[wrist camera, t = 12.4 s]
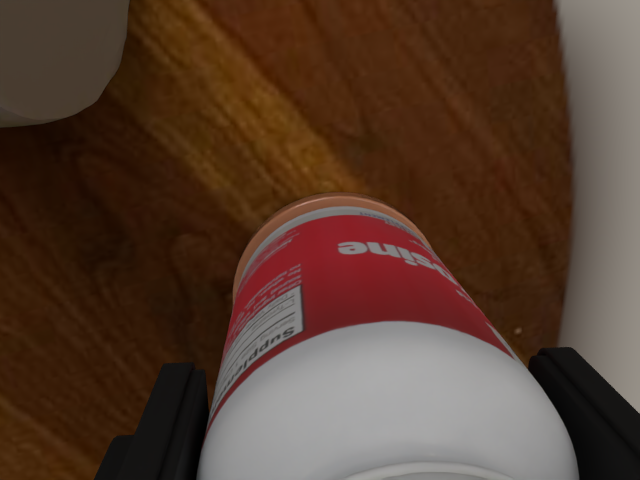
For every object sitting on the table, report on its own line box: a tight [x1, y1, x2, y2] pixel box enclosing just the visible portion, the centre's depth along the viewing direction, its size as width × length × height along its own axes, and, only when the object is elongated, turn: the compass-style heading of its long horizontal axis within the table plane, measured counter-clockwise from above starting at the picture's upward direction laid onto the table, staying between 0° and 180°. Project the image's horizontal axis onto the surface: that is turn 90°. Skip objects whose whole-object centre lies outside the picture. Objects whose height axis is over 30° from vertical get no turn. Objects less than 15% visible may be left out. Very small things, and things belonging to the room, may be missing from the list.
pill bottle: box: [196, 206, 579, 480], centre depth 11 cm, size 6×6×11 cm
